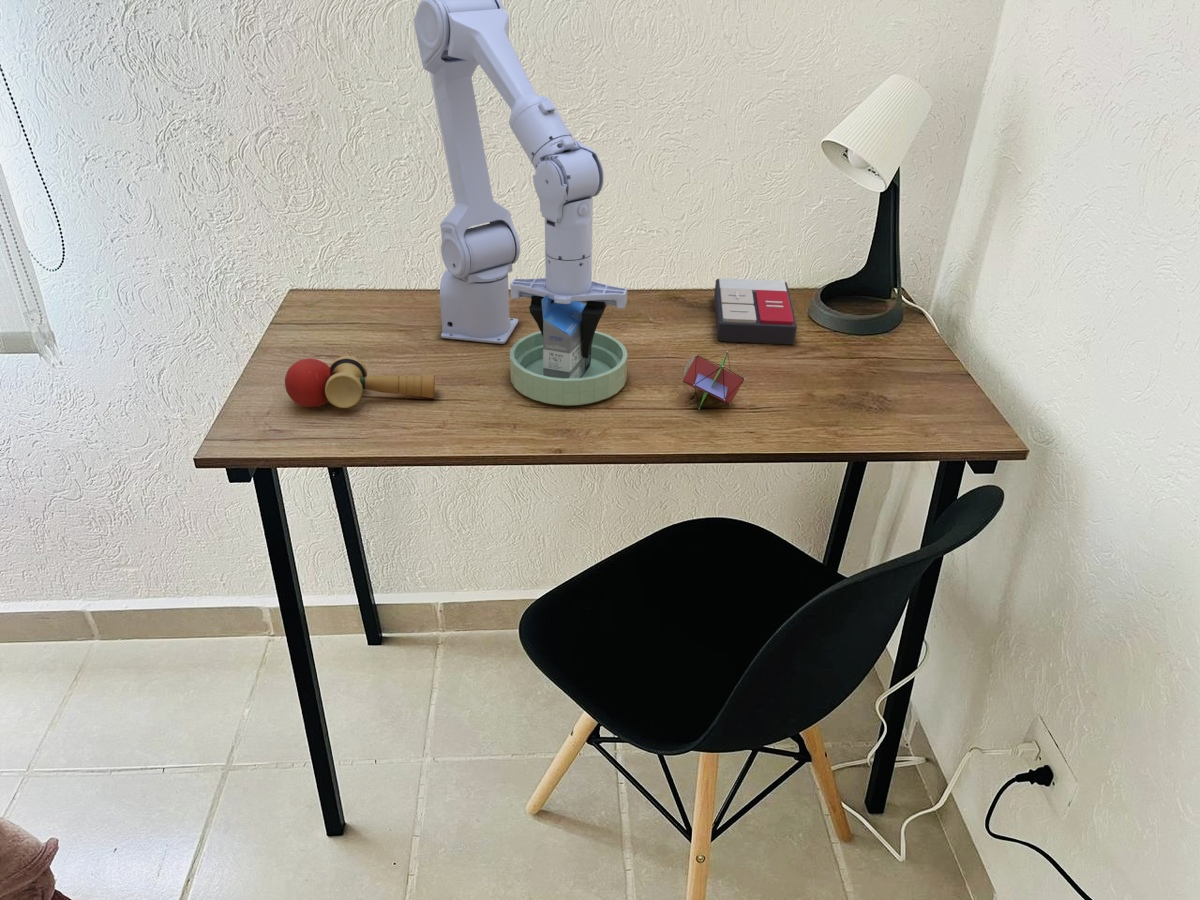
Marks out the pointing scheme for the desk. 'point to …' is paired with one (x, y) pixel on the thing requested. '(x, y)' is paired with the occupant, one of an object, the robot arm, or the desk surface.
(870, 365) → the desk surface
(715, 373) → the geometric puzzle
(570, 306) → the tape cartridge
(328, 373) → the kendama
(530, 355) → the bowl
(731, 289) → the calculator
